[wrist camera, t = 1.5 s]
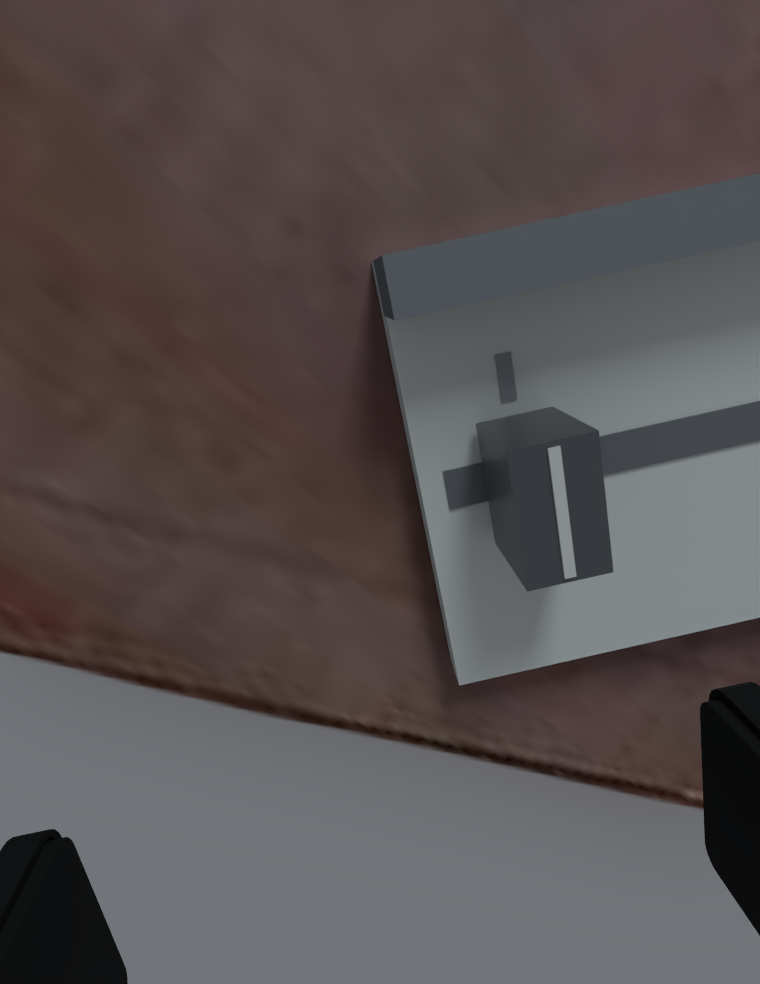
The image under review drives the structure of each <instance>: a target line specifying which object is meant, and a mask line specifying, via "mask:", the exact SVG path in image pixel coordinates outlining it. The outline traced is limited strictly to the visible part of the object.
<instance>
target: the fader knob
mask: <svg viewBox="0 0 760 984" xmlns="http://www.w3.org/2000/svg"><path fill="white" fill-rule="evenodd" d="M476 429H477V435H478V441H479V447H480V453H481V460H482V466H483V472H484V478H485V484H486V490H487V496H488V502H489V508H490V514H491V521H492V527H493V533H494V539H495V544H496V545H497V547H498V548H499V550H500V551H501V553H502V554H503V556H504V557H505V559H506V560H507V562H508V563H509V565H510V566H511V568H512V569H513V571H514V572H515V574H516V575H517V577H518V578H519V580H520V581H521V583H522V584H523V586H524V587H525V589H526V590H527V592H528V591H532V590H537V589H541V588H546V587H550V586H554V585H559V584H563V583H568V582H572V581H577V580H581V579H586V578H590V577H595V576H599V575H603V574H608V573H612V572H613V562H612V552H611V543H610V533H609V523H608V514H607V504H606V494H605V485H604V475H603V466H602V456H601V446H600V437H599V430H597V429H595V428H593V427H591V426H589V425H587V424H585V423H583V422H581V421H580V420H578V419H576V418H574V417H572V416H570V415H568V414H566V413H564V412H562V411H560V410H558V409H557V408H555V407H548V408H544V409H539V410H535V411H530V412H526V413H521V414H516V415H512V416H507V417H503V418H498V419H494V420H489V421H485V422H480V423H476Z"/></svg>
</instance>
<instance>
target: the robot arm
mask: <svg viewBox="0 0 760 984" xmlns="http://www.w3.org/2000/svg"><path fill="white" fill-rule="evenodd" d="M700 720H701V747H702V775H703V802H704V829H705V845H706V849H707V853H708V856H709V858H710V861H711V863H712V865H713V867H714V869H715V870H716V872H717V873H718V875H719V876H720V878H721V879H722V881H723V882H724V884H725V885H726V887H727V888H728V889H729V891H730V892H731V894H732V895H733V897H734V898H735V900H736V901H737V903H738V904H739V906H740V907H741V909H742V910H743V912H744V913H745V915H746V916H747V917H748V919H749V920H750V922H751V923H752V925H753V926H754V928H755V929H756V931H757V932H758V934H759V935H760V686H758V685H757V684H756V683H752V682H747V683H742V684H738V685H733V686H728V687H723V688H719V689H714V690H712V691H711V693H710V695H709V701H708V702H704V703H702V705H701V708H700ZM0 984H127V972H126V968H125V966H124V963H123V961H122V958H121V956H120V953H119V951H118V949H117V946H116V944H115V941H114V939H113V937H112V934H111V932H110V929H109V927H108V925H107V922H106V920H105V918H104V915H103V913H102V910H101V908H100V906H99V903H98V901H97V898H96V896H95V893H94V891H93V889H92V886H91V884H90V881H89V879H88V877H87V874H86V872H85V869H84V867H83V865H82V862H81V860H80V857H79V855H78V853H77V850H76V848H75V846H74V843H73V842H72V840H71V839H70V838H68V837H65V838H62V837H61V835H60V834H59V832H57V831H56V830H55V829H54V830H53V829H52V830H45V831H41V832H36V833H31V834H26V835H21V836H17V837H13V838H11V839H9V840H8V841H7V842H6V844H5V845H4V846H3V848H2V849H1V851H0Z"/></svg>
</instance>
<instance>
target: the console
mask: <svg viewBox="0 0 760 984" xmlns="http://www.w3.org/2000/svg"><path fill="white" fill-rule="evenodd" d="M372 267H373V272H374V277H375V282H376V287H377V292H378V297H379V302H380V307H381V312H382V317H383V322H384V328H385V333H386V338H387V343H388V348H389V353H390V358H391V363H392V368H393V373H394V378H395V383H396V388H397V393H398V398H399V403H400V408H401V413H402V418H403V423H404V428H405V433H406V438H407V443H408V448H409V453H410V458H411V463H412V468H413V473H414V478H415V483H416V488H417V493H418V498H419V503H420V508H421V513H422V518H423V523H424V528H425V533H426V538H427V543H428V548H429V553H430V558H431V563H432V568H433V573H434V578H435V583H436V588H437V593H438V598H439V603H440V608H441V613H442V618H443V623H444V628H445V633H446V638H447V643H448V648H449V653H450V658H451V662H452V665H453V668H454V671H455V674H456V677H457V680H458V683H459V685H464V684H468V683H473V682H477V681H482V680H486V679H490V678H495V677H499V676H504V675H508V674H513V673H517V672H521V671H526V670H530V669H535V668H539V667H543V666H548V665H552V664H557V663H561V662H566V661H570V660H574V659H579V658H583V657H588V656H592V655H597V654H601V653H605V652H610V651H614V650H619V649H623V648H627V647H632V646H636V645H641V644H645V643H650V642H654V641H658V640H663V639H667V638H672V637H676V636H681V635H685V634H689V633H694V632H698V631H703V630H707V629H711V628H716V627H720V626H725V625H729V624H734V623H738V622H742V621H747V620H751V619H756V618H760V173H758V174H754V175H749V176H744V177H740V178H735V179H731V180H726V181H721V182H717V183H712V184H708V185H703V186H698V187H694V188H689V189H685V190H680V191H676V192H671V193H666V194H662V195H657V196H653V197H648V198H643V199H639V200H634V201H630V202H625V203H621V204H616V205H611V206H607V207H602V208H598V209H593V210H588V211H584V212H579V213H575V214H570V215H566V216H561V217H556V218H552V219H547V220H543V221H538V222H533V223H529V224H524V225H520V226H515V227H510V228H506V229H501V230H497V231H492V232H488V233H483V234H478V235H474V236H469V237H465V238H460V239H455V240H451V241H446V242H442V243H437V244H433V245H428V246H423V247H419V248H414V249H410V250H405V251H400V252H396V253H391V254H387V255H382V256H380V257H379V258H377V259H375V260H374V261H372ZM548 407H555V408H557V409H558V410H560V411H562V412H564V413H566V414H568V415H570V416H572V417H574V418H576V419H578V420H580V421H581V422H583V423H585V424H587V425H589V426H591V427H593V428H595V429H597V430H599V437H600V446H601V456H602V466H603V475H604V485H605V494H606V504H607V514H608V523H609V533H610V543H611V552H612V562H613V572H612V573H608V574H603V575H599V576H595V577H590V578H586V579H581V580H577V581H572V582H568V583H563V584H559V585H554V586H550V587H546V588H541V589H537V590H532V591H528V592H527V590H526V589H525V587H524V586H523V584H522V583H521V581H520V580H519V578H518V577H517V575H516V574H515V572H514V571H513V569H512V568H511V566H510V565H509V563H508V562H507V560H506V559H505V557H504V556H503V554H502V553H501V551H500V550H499V548H498V547H497V545H496V544H495V539H494V533H493V527H492V521H491V514H490V508H489V502H488V496H487V490H486V484H485V478H484V472H483V466H482V460H481V453H480V447H479V441H478V435H477V429H476V423H480V422H485V421H489V420H494V419H498V418H503V417H507V416H512V415H516V414H521V413H526V412H530V411H535V410H539V409H544V408H548Z"/></svg>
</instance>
